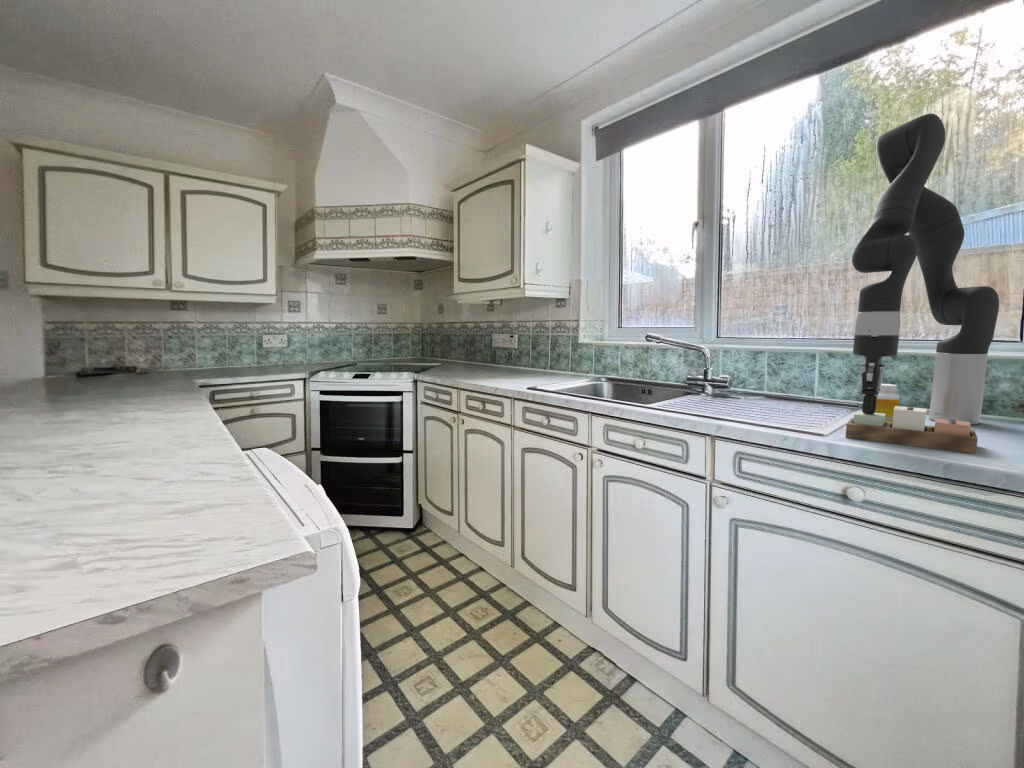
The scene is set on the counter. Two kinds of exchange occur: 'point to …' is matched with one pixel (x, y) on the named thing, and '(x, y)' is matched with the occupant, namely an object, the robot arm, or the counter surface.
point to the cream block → (909, 418)
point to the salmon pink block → (952, 427)
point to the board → (913, 437)
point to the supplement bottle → (887, 401)
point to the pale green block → (869, 419)
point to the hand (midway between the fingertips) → (868, 413)
